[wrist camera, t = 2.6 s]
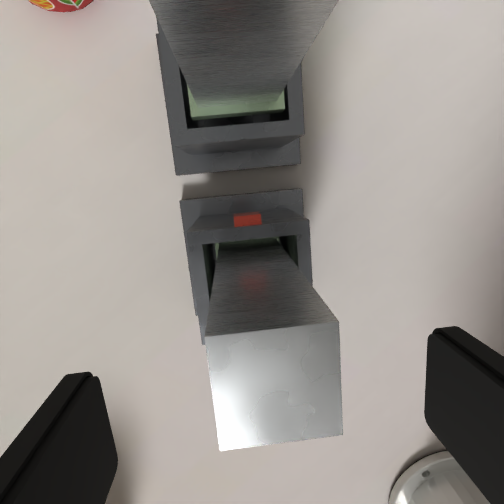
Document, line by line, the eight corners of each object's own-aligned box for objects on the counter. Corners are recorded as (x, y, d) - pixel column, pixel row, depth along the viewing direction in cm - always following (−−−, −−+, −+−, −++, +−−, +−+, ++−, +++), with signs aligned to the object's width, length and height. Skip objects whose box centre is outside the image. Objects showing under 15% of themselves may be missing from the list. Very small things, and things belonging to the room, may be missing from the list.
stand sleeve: (299, 188, 28) (331, 193, 19) (305, 298, 30) (337, 348, 21) (181, 200, 27) (158, 210, 19) (196, 311, 30) (183, 367, 21)
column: (273, 223, 27) (351, 307, 10) (277, 278, 28) (355, 443, 11) (215, 229, 27) (188, 326, 9) (222, 284, 28) (209, 462, 11)
